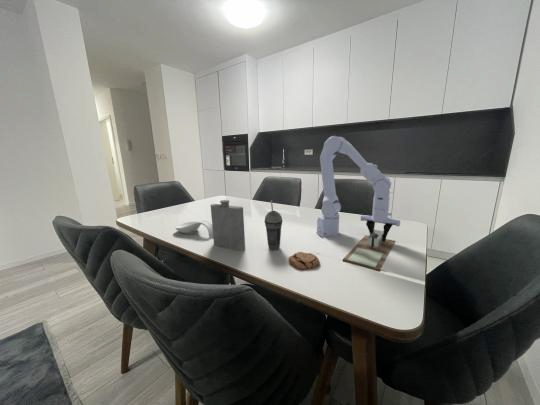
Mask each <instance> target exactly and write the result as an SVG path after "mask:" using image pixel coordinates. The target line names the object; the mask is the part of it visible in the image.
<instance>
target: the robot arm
mask: <svg viewBox="0 0 540 405" xmlns="http://www.w3.org/2000/svg"><path fill="white" fill-rule="evenodd" d="M338 154H344V155H346V156H348V157H349V158H350V159H351V161H352V162H354V163H355V164H356V165H357V166H358V167H359V168H360V174H361V175H362V176H363V178H365V179H366V181H367V182H368V183H369V184H370V185H372V189H373V191H374V195H373V200H372V201H373V202H372V214H371V215H364V214H362V215H361V216H360V221H361V222H363V221H365V222H366V223H365V225H366V227H367V229H368V233H369V235H370V234H371V233H372V232H373V231H374V230H375V226H376V223H378V224H384V225H383V231H384V235H383V241H384V242H385V240H386V239H387V236H388V233H389V232H390V230H391V228H392V227H393V226H396V227H400V226H401V220H398V219H394V218H390V217H389V208H390V198H391V197H390V194H391V192H390V189H391V187H392V180H390V178H389V177H387V176H386V174H385V173H384V174H383V173H382V172H381V171H380V169H378V165H377V164H374V163H372V162H367V161H366V159H365V158H364V157H363V156H362V155H361V154H360V152H359V151H357V149H356V148H355V147H354V146H353V145H352V144H351V142H349V141H348V140H346V138H345V137H342V136H338V135H332V136H329V137H328V138H327V139H326V140H325V142H323V148H322V150H321V153H320V155H319V163H320V171H321V181H322V188H323V199H322V206H321V208H320V209H321V210H320V211H321V212H320V213H321V214H322V216H320V217H319V216H318V218H317V222H316V234H317V235H318V236H320V237H321V238H323V239H324V238H326V237H328V236H338V235H339V233H340V232H339V231H340V229H339V228H340V214H339V212H340V211H341V209H342V206H341V203H340V201H339V197H338V195H337V191H336V182H335V173H334V171H335V170H334V165H333V160H334V159H335V157H336V156H337V155H338Z"/></svg>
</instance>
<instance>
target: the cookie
mask: <svg viewBox="0 0 540 405" xmlns="http://www.w3.org/2000/svg"><path fill="white" fill-rule="evenodd" d="M288 263H289V265H290V266H291V267H292V268H295V269H297V270H301V271H302V270H311V269H315V268H317V267H319V264H320V263H321V262H320V260H319V258H318V257H317V255H315V254H313V253H312V252H303V251H298V252H295V253H294V254H293V255H290V256H288Z"/></svg>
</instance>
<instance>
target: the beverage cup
mask: <svg viewBox="0 0 540 405" xmlns="http://www.w3.org/2000/svg"><path fill="white" fill-rule="evenodd" d="M273 204H274V203H273V199H270V205H271V206H270V207H271V210H270V211H269V212H267V213H266V215H265V218H264V225H265V228H266V231H265V232H266V237H267V247H268V250H270V251H278V250H279V249H280V247H281V235H282V226H283V217H282V215H281V213H279V212H278V211H276V210H274V209H273V208H274V206H273Z"/></svg>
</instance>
